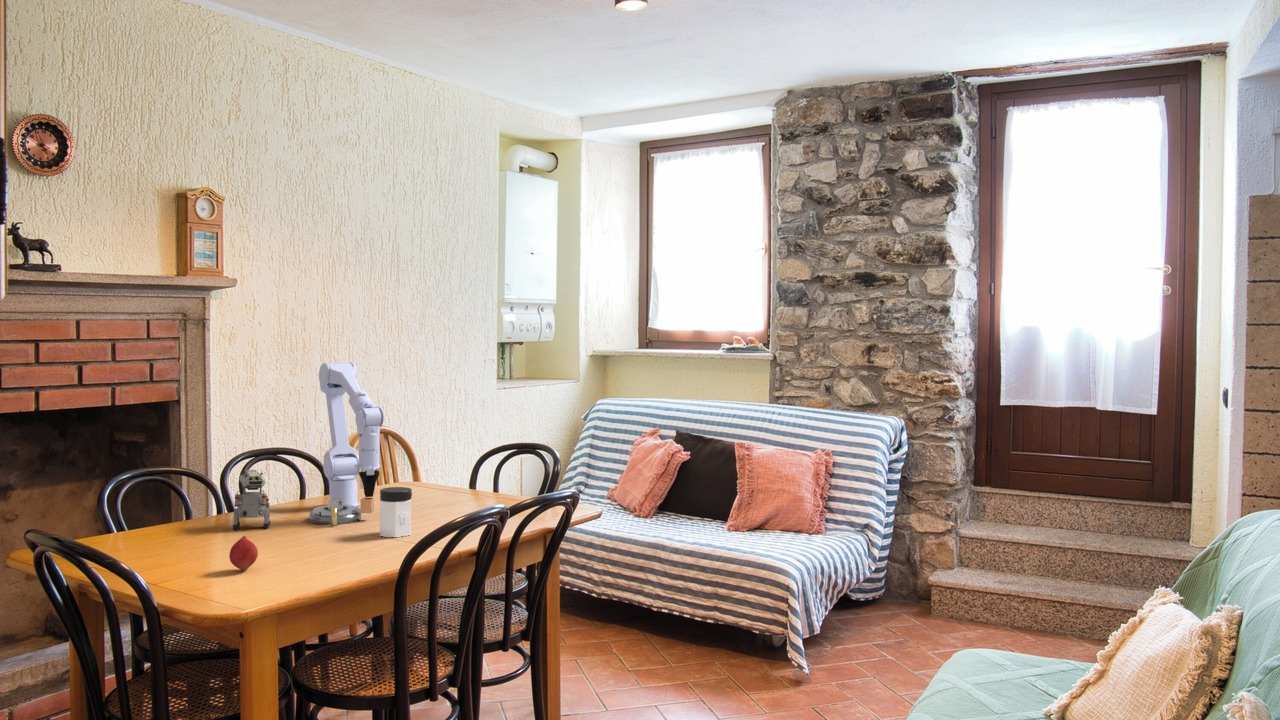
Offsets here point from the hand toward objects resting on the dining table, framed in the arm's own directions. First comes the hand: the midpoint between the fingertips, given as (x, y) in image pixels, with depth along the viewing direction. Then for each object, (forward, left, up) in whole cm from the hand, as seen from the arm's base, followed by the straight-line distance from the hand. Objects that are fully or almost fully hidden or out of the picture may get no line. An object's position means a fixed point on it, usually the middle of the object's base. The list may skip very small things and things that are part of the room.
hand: (368, 496), depth 262 cm
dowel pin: (+12, -6, -6) cm, 14 cm away
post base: (+3, -9, -6) cm, 11 cm away
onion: (+59, -10, -6) cm, 60 cm away
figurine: (+14, -28, -6) cm, 32 cm away
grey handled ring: (+3, -6, -4) cm, 8 cm away
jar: (+20, +13, -6) cm, 25 cm away
